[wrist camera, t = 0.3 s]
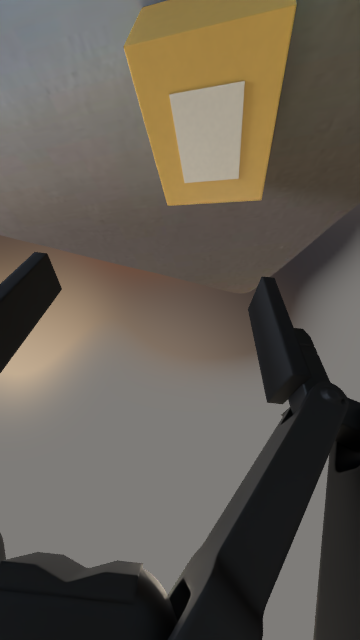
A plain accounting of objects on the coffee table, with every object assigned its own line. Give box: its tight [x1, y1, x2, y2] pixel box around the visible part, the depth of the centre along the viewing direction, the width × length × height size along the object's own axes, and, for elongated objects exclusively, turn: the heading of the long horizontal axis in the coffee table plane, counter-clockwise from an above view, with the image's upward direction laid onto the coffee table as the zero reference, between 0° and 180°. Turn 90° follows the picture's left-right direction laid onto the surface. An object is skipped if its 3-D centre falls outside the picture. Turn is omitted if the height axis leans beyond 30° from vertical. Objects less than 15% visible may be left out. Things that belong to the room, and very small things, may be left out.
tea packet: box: [124, 0, 297, 206], centre depth 16 cm, size 10×8×5 cm
